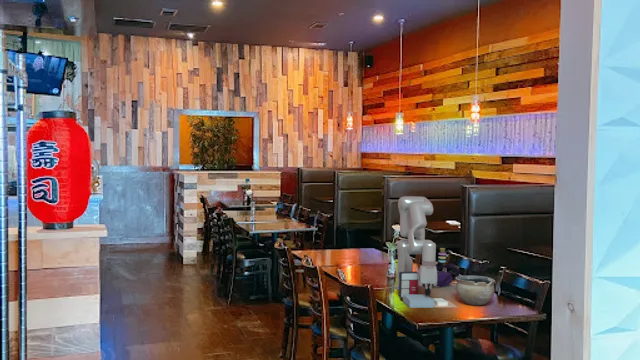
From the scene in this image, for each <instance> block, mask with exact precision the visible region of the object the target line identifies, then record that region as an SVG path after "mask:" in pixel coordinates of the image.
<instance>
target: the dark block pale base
mask: <svg viewBox="0 0 640 360" xmlns="http://www.w3.org/2000/svg"><path fill="white" fill-rule="evenodd" d="M418 277H419V271H413V272H399V289H398V297H399V298H401V299H403V294H419V293H418V291H419V290H418V289H419V281H418Z"/></svg>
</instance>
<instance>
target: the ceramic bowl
mask: <svg viewBox="0 0 640 360" xmlns="http://www.w3.org/2000/svg"><path fill="white" fill-rule="evenodd" d="M455 280H456V284H455V292H456V294H457V295H458V297H459V299H460V300H461V301H463V303H465V304H468V305H471V306H484V305H486V304H487V303H489V302H490V301H491V300H492V299H493V297H494V295H495V281H496V280H495V279H494V278H492V277H488V276H482V275H459V276H458V277H456V279H455Z"/></svg>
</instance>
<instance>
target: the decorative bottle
mask: <svg viewBox="0 0 640 360" xmlns="http://www.w3.org/2000/svg"><path fill="white" fill-rule="evenodd" d="M438 255H439V256H438V260H437V262H438V263H441V264H443V263H444V264H443V265H436V268H437V285H436V286H435V287H439V288H445V287H448V285H450V284H451V283H452V282H453V281H455V280H456V277H458V276H460V271H459V269H458V268H457V267H456V265H455V264H454V263H452V262H451V263H450V262H449V263H447V264H446V262H447V260H446V259H447V257H446V255H447V253H446V248H444V247H440V248H439V252H438ZM444 268H445V269H450V270H451V272H449V271H442V270H441V269H444ZM439 270H441V271H439ZM453 273H454V276H453V275H452V274H453Z"/></svg>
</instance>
